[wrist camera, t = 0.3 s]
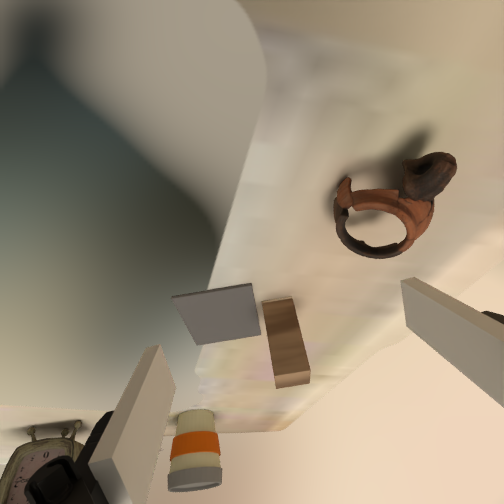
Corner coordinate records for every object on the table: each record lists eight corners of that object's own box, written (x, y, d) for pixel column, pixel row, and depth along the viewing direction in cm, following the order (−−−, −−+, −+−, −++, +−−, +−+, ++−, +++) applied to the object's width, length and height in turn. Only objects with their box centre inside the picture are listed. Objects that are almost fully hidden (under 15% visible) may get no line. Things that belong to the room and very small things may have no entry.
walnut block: (261, 301, 44) (274, 376, 37) (291, 296, 44) (310, 370, 37) (264, 317, 48) (276, 388, 40) (292, 312, 47) (309, 383, 40)
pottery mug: (395, 226, 37) (385, 278, 32) (328, 187, 37) (308, 233, 32) (487, 152, 27) (492, 211, 22) (397, 98, 27) (383, 146, 22)
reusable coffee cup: (182, 405, 72) (179, 483, 62) (228, 408, 78) (232, 480, 68) (164, 421, 79) (158, 493, 69) (207, 423, 85) (208, 490, 75)
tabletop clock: (83, 417, 70) (45, 572, 53) (99, 427, 77) (70, 568, 59) (19, 425, 69) (-40, 586, 52) (41, 435, 76) (-6, 580, 59)
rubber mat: (171, 296, 41) (171, 298, 41) (251, 283, 41) (251, 285, 40) (196, 343, 51) (196, 345, 51) (260, 332, 51) (261, 334, 51)
